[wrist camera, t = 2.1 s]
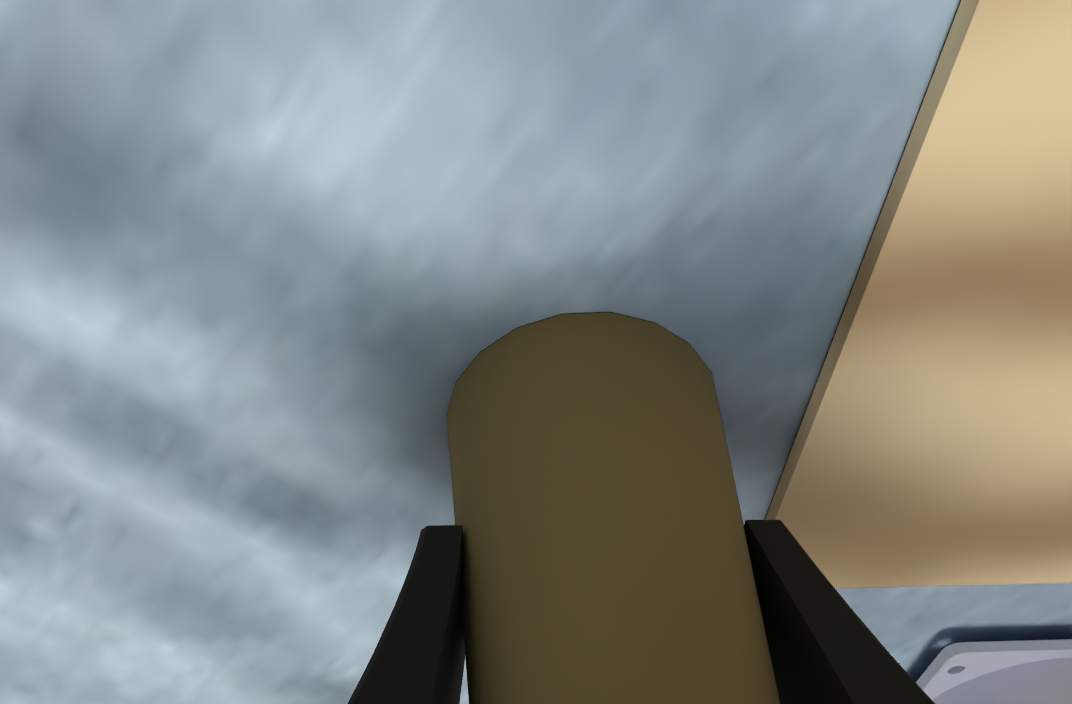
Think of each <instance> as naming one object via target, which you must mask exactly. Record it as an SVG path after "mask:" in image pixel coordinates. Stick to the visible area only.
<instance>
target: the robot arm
mask: <svg viewBox="0 0 1072 704" xmlns="http://www.w3.org/2000/svg"><path fill="white" fill-rule="evenodd" d="M744 531H745V536H746V541H747V545H748V550H749V555H750V560H751V564H752V569H753V574H754V579H755V583H756V588H757V593H758V598H759V603H760V608H761V613H762V617H763V622H764V627H765V632H766V637H767V642H768V647H769V651H770V656H771V661H772V666H773V671H774V676H775V681H776V686H777V690H778V695H779V700H780V704H1072V639H1060V640H1023V641H985V642H959V643H954V644H950V645H948V646H946V647H945V648H944V649H942V650H941V652H940V653H939V654H938V655H937V657H936V658H935V659H934V660H933V662H932V663H931V664H930V665H929V667H928V668H927V669H926V670H925V672H924V673H923V674H922V675H921V677H920V678H919V679H918V680H917V682H915V681H914V680H913V679H912V678H911V677H910V676H909V675H908V674H907V672H906V671H905V670H904V669H903V668H902V667H901V666H900V665H899V664H898V662H897V661H896V660H895V659H894V658H893V657H892V656H891V655H890V653H889V652H888V651H887V650H886V649H885V648H884V647H883V645H882V644H881V643H880V642H879V641H878V640H877V638H876V637H875V636H874V635H873V634H872V633H871V631H870V630H869V629H868V628H867V627H866V625H865V624H864V623H863V622H862V621H861V620H860V618H859V617H858V616H857V615H856V614H855V613H854V611H853V610H852V609H851V608H850V607H849V605H848V604H847V603H846V602H845V600H844V599H843V598H842V597H841V596H840V594H839V593H838V592H837V591H836V589H835V588H834V587H833V586H832V584H831V583H830V582H829V581H828V579H827V578H826V577H825V576H824V574H823V573H822V572H821V571H820V569H819V568H818V567H817V566H816V564H815V563H814V562H813V560H812V559H811V558H810V557H809V555H808V554H807V553H806V551H805V550H804V549H803V548H802V546H801V545H800V544H799V542H798V541H797V540H796V539H795V537H794V536H793V535H792V533H791V532H790V531H789V530H788V528H787V527H786V526H785V524H784V523H783V522H782V521H781V520H746V521H745V524H744ZM462 559H463V525H445V526H426V527H425V528H424V529H422V530H421V533H420V537H419V541H418V544H417V548H416V551H415V554H414V557H413V560H412V563H411V566H410V568H409V571H408V574H407V576H406V579H405V582H404V584H403V587H402V589H401V592H400V594H399V597H398V599H397V602H396V604H395V607H394V609H393V611H392V613H391V615H390V618H389V620H388V622H387V624H386V627H385V629H384V631H383V633H382V636H381V638H380V640H379V642H378V644H377V647H376V649H375V651H374V653H373V655H372V657H371V659H370V661H369V663H368V665H367V667H366V669H365V671H364V673H363V675H362V677H361V679H360V681H359V683H358V685H357V687H356V689H355V691H354V693H353V695H352V696H351V698H350V700H349V702H348V704H459V702H460V694H461V686H462V678H463V670H464V661H465V644H464V631H463V618H462V605H461V594H462Z"/></svg>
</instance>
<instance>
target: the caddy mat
mask: <svg viewBox="0 0 1072 704" xmlns="http://www.w3.org/2000/svg"><path fill="white" fill-rule="evenodd" d="M765 520H781V521H782V522H783V523H784V524H785V526H786V527H787V528H788V530H789V531H790V532H791V533H792V535H793V536H794V537H795V539H796V540H797V541H798V542H799V544H800V545H801V546H802V548H803V549H804V550H805V551H806V553H807V554H808V555H809V557H810V558H811V559H812V560H813V562H814V563H815V564H816V566H817V567H818V568H819V569H820V571H821V572H822V573H823V574H824V576H825V577H826V578H827V579H828V581H829V582H830V583H831V584H832V586H833V587H834V588H870V587H914V586H958V585H1002V584H1046V583H1072V0H961V3H960V5H959V8H958V11H957V13H956V16H955V18H954V21H953V24H952V26H951V29H950V32H949V34H948V37H947V40H946V42H945V45H944V48H943V50H942V53H941V55H940V58H939V61H938V63H937V66H936V69H935V71H934V74H933V77H932V79H931V82H930V85H929V87H928V90H927V93H926V95H925V98H924V100H923V103H922V106H921V108H920V111H919V114H918V116H917V119H916V122H915V124H914V127H913V130H912V132H911V135H910V137H909V140H908V143H907V145H906V148H905V151H904V153H903V156H902V159H901V161H900V164H899V167H898V169H897V172H896V174H895V177H894V180H893V182H892V185H891V188H890V190H889V193H888V196H887V198H886V201H885V204H884V206H883V209H882V212H881V214H880V217H879V219H878V222H877V225H876V227H875V230H874V233H873V235H872V238H871V241H870V243H869V246H868V249H867V251H866V254H865V256H864V259H863V262H862V264H861V267H860V270H859V272H858V275H857V278H856V280H855V283H854V286H853V288H852V291H851V294H850V296H849V299H848V301H847V304H846V307H845V309H844V312H843V315H842V317H841V320H840V323H839V325H838V328H837V331H836V333H835V336H834V338H833V341H832V344H831V346H830V349H829V352H828V354H827V357H826V360H825V362H824V365H823V368H822V370H821V373H820V375H819V378H818V381H817V383H816V386H815V389H814V391H813V394H812V397H811V399H810V402H809V405H808V407H807V410H806V413H805V415H804V418H803V420H802V423H801V426H800V428H799V431H798V434H797V436H796V439H795V442H794V444H793V447H792V450H791V452H790V455H789V457H788V460H787V463H786V465H785V468H784V471H783V473H782V476H781V479H780V481H779V484H778V487H777V489H776V492H775V495H774V497H773V500H772V502H771V505H770V508H769V510H768V513H767V516H766V518H765Z"/></svg>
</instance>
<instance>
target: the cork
mask: <svg viewBox="0 0 1072 704" xmlns="http://www.w3.org/2000/svg"><path fill="white" fill-rule="evenodd" d="M447 426H448V439H449V452H450V465H451V477H452V490H453V503H454V516H455V525H463V559H462V594H461V605H462V618H463V631H464V644H465V656H466V669H467V682H468V695H469V704H780V700H779V695H778V690H777V686H776V681H775V676H774V671H773V666H772V661H771V656H770V651H769V647H768V642H767V637H766V632H765V627H764V622H763V617H762V613H761V608H760V603H759V598H758V593H757V588H756V583H755V579H754V574H753V569H752V564H751V560H750V555H749V550H748V545H747V541H746V536H745V531H744V525H743V520H742V515H741V510H740V506H739V501H738V496H737V491H736V486H735V481H734V476H733V471H732V467H731V462H730V457H729V452H728V447H727V442H726V437H725V433H724V428H723V423H722V418H721V413H720V408H719V403H718V399H717V395H716V390H715V386H714V381H713V377H712V373H711V371H710V370H709V369H708V367H707V366H706V365H705V363H704V362H703V361H702V359H701V358H700V357H699V355H698V354H697V353H696V352H695V350H694V349H693V348H692V346H691V345H690V344H689V343H687V342H685V341H684V340H682V339H680V338H679V337H677V336H676V335H674V334H672V333H671V332H669V331H667V330H666V329H664V328H662V327H661V326H659V325H657V324H656V323H653V322H648V321H644V320H640V319H636V318H632V317H628V316H623V315H619V314H615V313H611V312H610V313H583V314H562V315H558V316H555V317H552V318H549V319H545V320H542V321H539V322H536V323H532V324H529V325H526V326H523V327H519V328H516V329H515V330H513V331H512V332H510V333H509V334H507V335H506V336H504V337H503V338H501V339H500V340H498V341H497V342H495V343H493V344H492V345H490V346H489V347H487V348H486V349H484V350H483V351H481V352H480V353H479V354H478V355H477V357H476V358H475V359H474V360H473V362H472V363H471V364H470V366H469V367H468V368H467V369H466V371H465V372H464V373H463V374H462V376H461V377H460V378H459V379H458V381H457V382H456V384H455V388H454V391H453V395H452V398H451V401H450V405H449V408H448V412H447Z"/></svg>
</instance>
